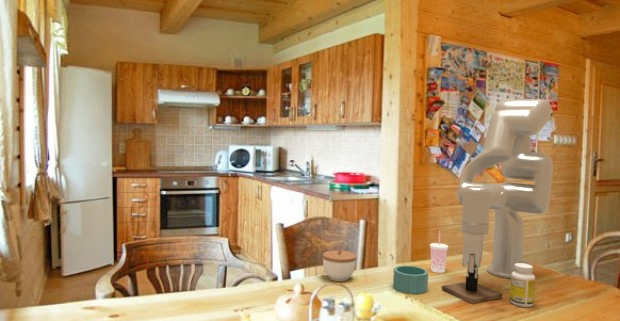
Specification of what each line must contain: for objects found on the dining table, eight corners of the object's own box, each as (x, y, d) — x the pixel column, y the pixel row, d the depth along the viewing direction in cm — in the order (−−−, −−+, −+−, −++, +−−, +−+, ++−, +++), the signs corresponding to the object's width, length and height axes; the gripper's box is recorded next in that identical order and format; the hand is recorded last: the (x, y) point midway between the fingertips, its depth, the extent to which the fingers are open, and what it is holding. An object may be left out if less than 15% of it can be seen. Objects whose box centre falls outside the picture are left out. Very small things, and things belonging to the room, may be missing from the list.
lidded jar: (331, 271, 151) (332, 243, 151) (360, 277, 146) (361, 248, 145) (316, 279, 142) (317, 250, 141) (346, 286, 136) (347, 256, 136)
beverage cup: (449, 273, 152) (451, 233, 152) (430, 272, 153) (432, 232, 152) (444, 268, 158) (446, 229, 158) (427, 267, 159) (429, 228, 158)
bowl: (412, 281, 143) (413, 264, 143) (433, 291, 134) (434, 273, 134) (386, 284, 139) (387, 267, 138) (407, 295, 130) (408, 277, 130)
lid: (471, 284, 141) (472, 267, 141) (502, 297, 130) (503, 278, 130) (441, 289, 136) (442, 271, 135) (471, 303, 125) (472, 284, 125)
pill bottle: (528, 300, 129) (530, 262, 129) (537, 308, 123) (539, 269, 122) (506, 298, 130) (508, 261, 129) (514, 306, 124) (516, 267, 123)
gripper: (463, 221, 141) (461, 278, 142) (458, 231, 126) (455, 295, 127) (489, 224, 138) (486, 282, 139) (487, 234, 123) (483, 300, 124)
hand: (471, 288), depth 133 cm, fingers closed on lid, 3 cm apart
